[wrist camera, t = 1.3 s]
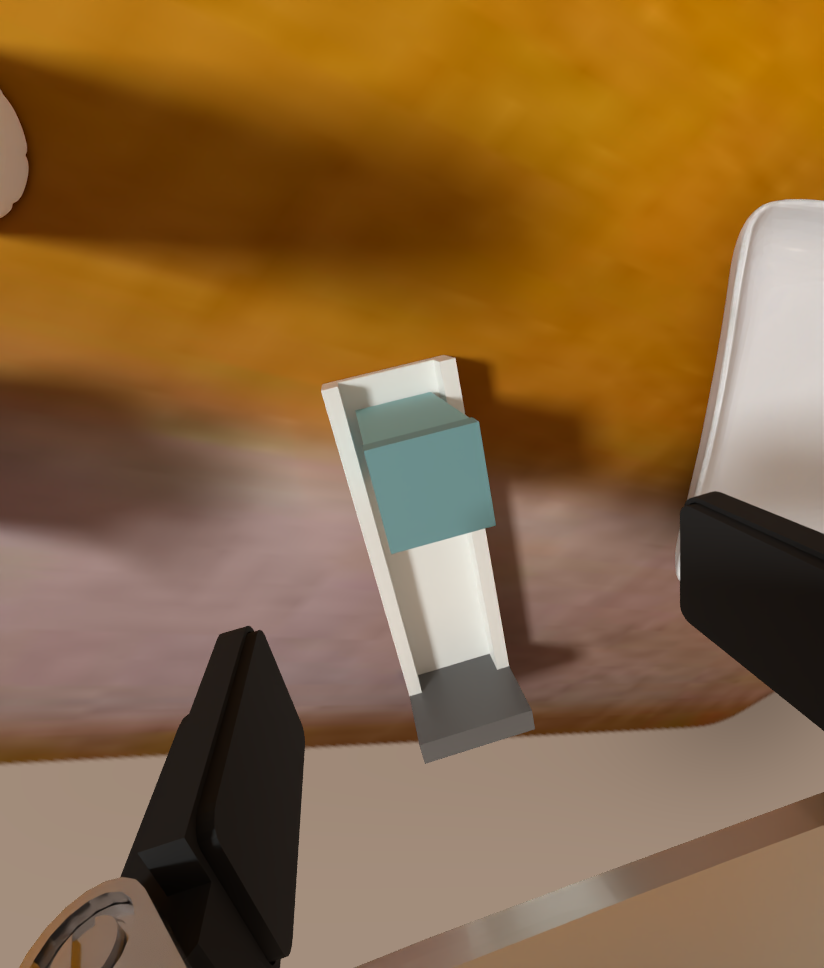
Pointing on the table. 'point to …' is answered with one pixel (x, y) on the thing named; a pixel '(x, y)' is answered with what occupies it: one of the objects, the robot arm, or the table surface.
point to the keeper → (425, 470)
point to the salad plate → (770, 370)
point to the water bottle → (11, 157)
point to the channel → (433, 586)
